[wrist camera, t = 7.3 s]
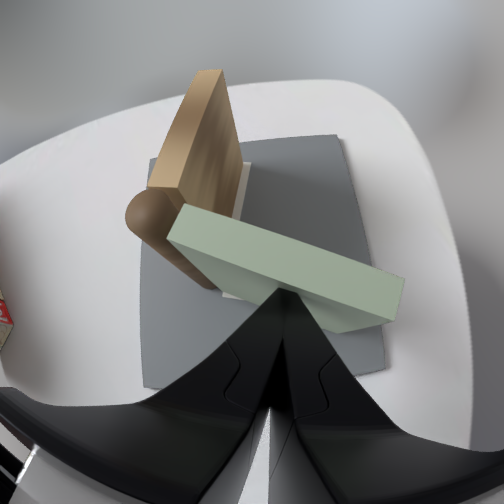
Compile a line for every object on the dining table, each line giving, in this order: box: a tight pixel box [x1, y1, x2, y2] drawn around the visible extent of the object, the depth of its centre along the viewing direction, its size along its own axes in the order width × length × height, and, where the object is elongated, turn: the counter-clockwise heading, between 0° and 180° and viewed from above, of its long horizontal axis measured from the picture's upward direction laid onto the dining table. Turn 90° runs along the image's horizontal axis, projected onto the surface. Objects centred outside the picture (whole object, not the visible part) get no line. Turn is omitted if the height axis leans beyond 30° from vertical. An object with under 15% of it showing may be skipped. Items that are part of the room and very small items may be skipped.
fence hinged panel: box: [166, 203, 405, 334], centre depth 11 cm, size 7×1×8 cm, turn 68°
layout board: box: [140, 135, 386, 389], centre depth 17 cm, size 16×14×1 cm
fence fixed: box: [125, 69, 243, 289], centre depth 13 cm, size 9×2×8 cm, turn 171°
